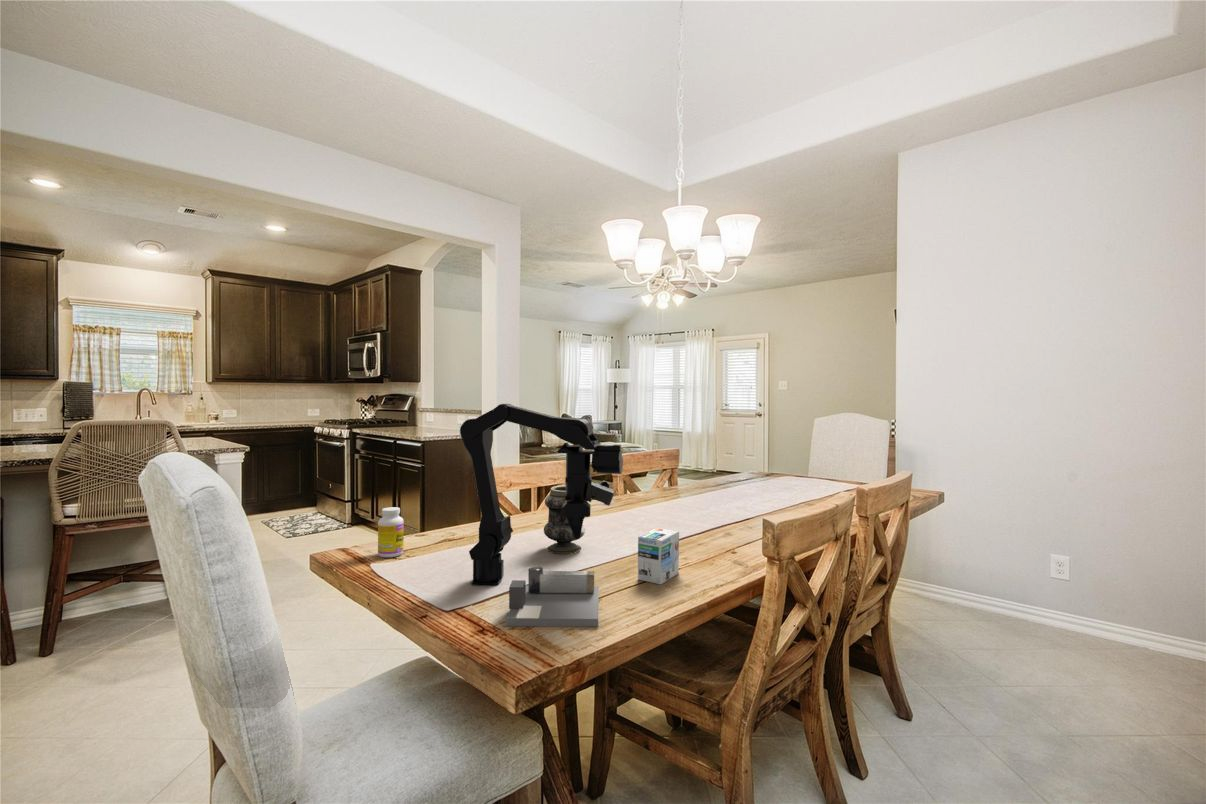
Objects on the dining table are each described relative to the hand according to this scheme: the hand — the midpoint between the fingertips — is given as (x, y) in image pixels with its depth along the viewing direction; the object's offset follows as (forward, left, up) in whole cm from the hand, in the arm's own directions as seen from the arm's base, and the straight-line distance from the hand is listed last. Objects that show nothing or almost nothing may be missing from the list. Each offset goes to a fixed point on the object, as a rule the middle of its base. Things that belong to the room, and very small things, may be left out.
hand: (577, 538), depth 127 cm
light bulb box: (+20, +8, -12) cm, 25 cm away
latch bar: (-3, -7, -10) cm, 12 cm away
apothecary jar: (-5, +30, -12) cm, 33 cm away
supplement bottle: (-53, +24, -12) cm, 59 cm away
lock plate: (-4, -12, -12) cm, 17 cm away
